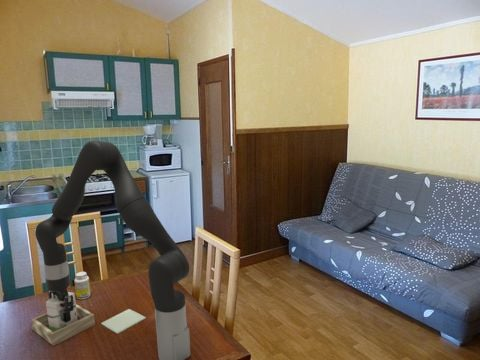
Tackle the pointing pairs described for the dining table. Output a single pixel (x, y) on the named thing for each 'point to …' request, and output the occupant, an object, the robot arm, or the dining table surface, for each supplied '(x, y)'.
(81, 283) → the supplement bottle
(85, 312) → the frame
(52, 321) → the ink box
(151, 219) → the robot arm
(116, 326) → the sage mat
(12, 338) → the dining table surface
